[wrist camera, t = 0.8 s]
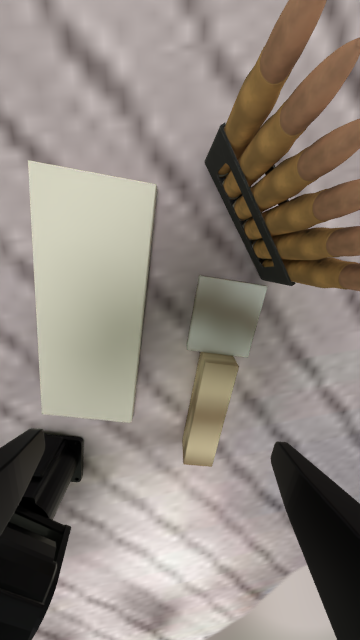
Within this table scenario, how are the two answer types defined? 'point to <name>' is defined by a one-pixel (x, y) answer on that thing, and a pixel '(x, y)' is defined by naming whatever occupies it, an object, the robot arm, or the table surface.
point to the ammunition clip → (290, 162)
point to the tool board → (89, 288)
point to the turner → (217, 358)
